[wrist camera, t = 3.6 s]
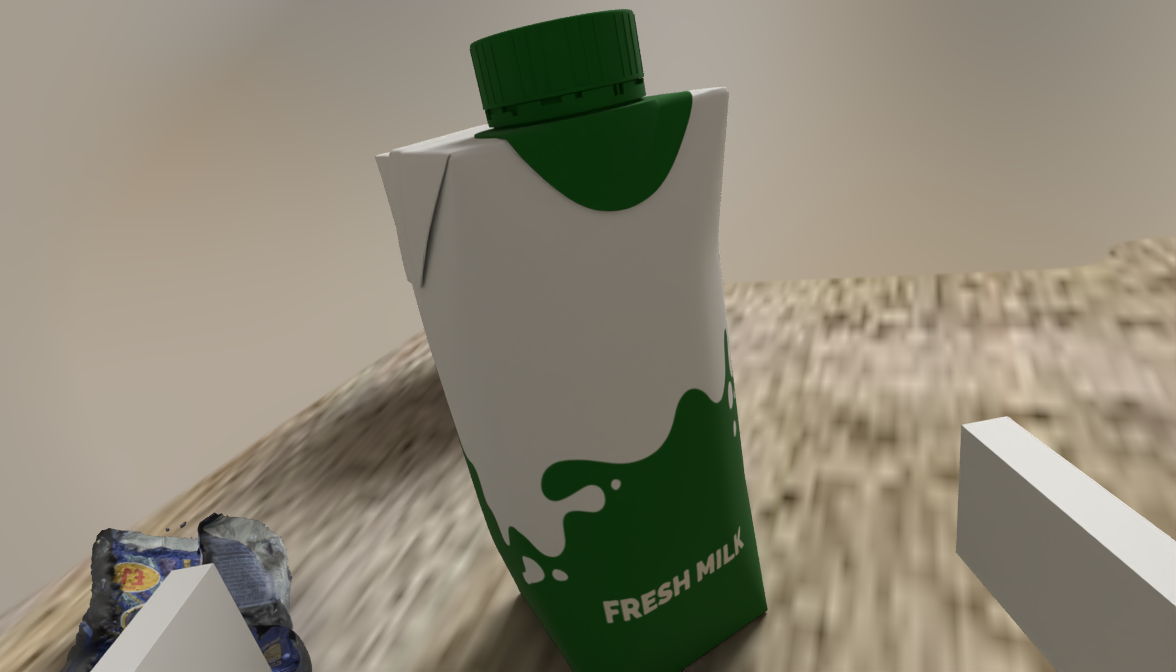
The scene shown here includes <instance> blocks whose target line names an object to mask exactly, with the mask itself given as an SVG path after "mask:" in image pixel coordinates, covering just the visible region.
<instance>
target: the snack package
mask: <svg viewBox="0 0 1176 672" xmlns="http://www.w3.org/2000/svg"><path fill="white" fill-rule="evenodd" d="M185 525H186V522H184V523H183V524H182V525H180V528H182V527H184V526H185ZM169 530H170V529H169V528H166V531H169ZM91 559H92V564H91V569H92V571H91V575H92V581H93V584H92V590H91V591H92V598H91V600H90V608H89V609H88V610H87V613H86V614H85V615H84V616H83V622H82V623H80V625H79V632H78V633H77V635H76V645H75V646H73V647H72V648H71V650H70V651H69V654H68V658H67V663H66V665H65V667H64V668H63V669H62V670H61V672H91V670H92V669H93V668H94V667H95V665H96V664H97V663H98V662H99V660H100V659H101V658H102V657H103V655H104V654H105V653H106V652H107V650H108V649H109V648H110V647H111V646H112V644H113V643H114V642H115V641H116V639H117V638H118V637H119V636H120V634H121V633H122V632H123V631H124V629H125V628H126V627H127V626H128V624H129V623H130V622H131V621H132V619H133V618H134V617H135V616H136V615H137V613H138V612H139V611H140V610H141V608H142V607H143V606H144V605H145V603H146V602H147V601H148V600H149V598H150V597H151V596H152V595H153V593H154V592H155V591H156V590H157V588H158V587H159V586H160V585H161V583H162V582H163V581H164V580H165V579H166V577H167V576H168V575H169V574H170V572H171V571H173V570H178V569H184V568H189V567H195V566H200V565H205V564H211V563H214V565H215V567H216V569H217V570H218V572H219V574H220V576H221V578H222V580H223V581H224V583H225V585H226V587H227V589H228V591H229V593H230V594H231V596H232V598H233V600H234V602H235V604H236V606H237V607H238V609H239V611H240V613H241V615H242V617H243V618H244V620H245V622H246V624H247V626H248V628H249V630H250V631H251V633H252V635H253V637H254V639H255V641H256V643H257V644H258V646H259V648H260V650H261V652H262V654H263V655H264V657H265V659H266V661H267V663H268V665H269V667H270V668H271V670H272V672H312V664H311V660H310V656H309V654H308V651H307V649H306V647H305V645H304V643H303V642H302V640H301V639H300V637H299V636H298V635H297V634H296V633H295V632H294V631H293V623H292V621H291V618H290V616H289V600H290V587H291V579H292V577H290V575H291V572H290V570H289V569H288V558H287V549H286V547H285V546H284V543H283V541H282V539H281V537H277V533H274V532H270V529H269V528H268V527H265V524H263V523H261V522H259V521H258V520H257V521H255V520H253V519H246V518H238V517H229V516H228V515H227V516H223V514H222V513H221V514H219V515H218V514H216V513H213V514H212V515H210V516H209V517H207V518H206V519H204V520H203V521H202V522H200V523H199V526H198V538H196V539H195V540H193V538H192V537H191V539H187V538H186V537H185V538H178V537H170V536H169V537H160V536H156V537H152V536H151V535H150V536H146V535H145V534H142V533H141V532H133V531H121V530H115V529H111V528H108V529H106V530H102V531H101V532H100V533H99V534H98V535H97V539H96V542H95V543H94V544H93V548H92V558H91Z"/></svg>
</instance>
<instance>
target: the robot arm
mask: <svg viewBox="0 0 1176 672" xmlns="http://www.w3.org/2000/svg"><path fill="white" fill-rule="evenodd" d="M956 553H957V554H958V555H959V556H960V557H961V559H962V560H963V561H964V562H965V563H966V565H967V566H968V567H969V568H970V569H971V570H972V572H973V573H974V574H975V575H976V576H977V578H978V579H979V580H980V581H981V582H982V583H983V585H984V586H985V587H986V588H987V589H988V590H989V592H990V593H991V594H992V595H993V596H994V598H995V599H996V600H997V601H998V602H999V603H1000V605H1001V606H1002V607H1003V608H1004V609H1005V611H1006V612H1007V613H1008V614H1009V615H1010V616H1011V618H1012V619H1013V620H1014V621H1015V622H1016V624H1017V625H1018V626H1019V627H1020V628H1021V629H1022V631H1023V632H1024V633H1025V634H1026V635H1027V637H1028V638H1029V639H1030V640H1031V641H1032V642H1033V644H1034V645H1035V646H1036V647H1037V648H1038V650H1039V651H1040V652H1041V653H1042V654H1043V655H1044V657H1045V658H1046V659H1047V660H1048V661H1049V663H1050V664H1051V665H1052V666H1053V667H1054V668H1055V670H1056V671H1057V672H1176V541H1175V540H1173V539H1172V538H1171V537H1169V536H1168V535H1167V534H1165V533H1164V532H1163V531H1161V530H1160V529H1158V528H1157V527H1156V526H1154V525H1153V524H1152V523H1150V522H1149V521H1148V520H1146V519H1145V518H1144V517H1142V516H1141V515H1140V514H1138V513H1137V512H1136V511H1134V510H1133V509H1131V508H1130V507H1129V506H1127V505H1126V504H1125V503H1123V502H1122V501H1121V500H1119V499H1118V498H1117V497H1115V496H1114V495H1113V494H1111V493H1110V492H1109V491H1107V490H1106V489H1104V488H1103V487H1102V486H1100V485H1099V484H1098V483H1096V482H1095V481H1094V480H1092V479H1091V478H1090V477H1088V476H1087V475H1086V474H1084V473H1083V472H1082V471H1080V470H1079V469H1077V468H1076V467H1075V466H1073V465H1072V464H1071V463H1069V462H1068V461H1067V460H1065V459H1064V458H1063V457H1061V456H1060V455H1059V454H1057V453H1056V452H1054V451H1053V450H1052V449H1050V448H1049V447H1048V446H1046V445H1045V444H1044V443H1042V442H1041V441H1040V440H1038V439H1037V438H1036V437H1034V436H1033V435H1032V434H1030V433H1029V432H1027V431H1026V430H1025V429H1023V428H1022V427H1021V426H1019V425H1018V424H1017V423H1015V422H1014V421H1013V420H1011V419H1010V418H1009V417H1002V418H996V419H991V420H986V421H980V422H975V423H969V424H964V425H961V448H960V471H959V494H958V517H957V540H956ZM91 672H272V670H271V668H270V667H269V665H268V663H267V661H266V659H265V657H264V655H263V654H262V652H261V650H260V648H259V646H258V644H257V643H256V641H255V639H254V637H253V635H252V633H251V631H250V630H249V628H248V626H247V624H246V622H245V620H244V618H243V617H242V615H241V613H240V611H239V609H238V607H237V606H236V604H235V602H234V600H233V598H232V596H231V594H230V593H229V591H228V589H227V587H226V585H225V583H224V581H223V580H222V578H221V576H220V574H219V572H218V570H217V569H216V567H215V565H214V563H211V564H205V565H200V566H195V567H189V568H184V569H178V570H173V571H171V572H170V574H169V575H168V576H167V577H166V579H165V580H164V581H163V582H162V583H161V585H160V586H159V587H158V588H157V590H156V591H155V592H154V593H153V595H152V596H151V597H150V598H149V600H148V601H147V602H146V603H145V605H144V606H143V607H142V608H141V610H140V611H139V612H138V613H137V615H136V616H135V617H134V618H133V619H132V621H131V622H130V623H129V624H128V626H127V627H126V628H125V629H124V631H123V632H122V633H121V634H120V636H119V637H118V638H117V639H116V641H115V642H114V643H113V644H112V646H111V647H110V648H109V649H108V650H107V652H106V653H105V654H104V655H103V657H102V658H101V659H100V660H99V662H98V663H97V664H96V665H95V667H94V668H93V669H92V670H91Z"/></svg>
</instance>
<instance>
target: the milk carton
mask: <svg viewBox="0 0 1176 672" xmlns="http://www.w3.org/2000/svg"><path fill="white" fill-rule="evenodd" d="M470 53H471V57H472V61H473V66H474V70H475V74H476V79H477V82H478V87H479V92H480V96H481V100H482V104H483V109H484V110H485V113H486V117H487V121H488V124H486V125H481V126H478V127H473V128H469V129H466V130H462V131H459V132H455V133H451V134H448V135H444V136H441V137H437V138H434V139H430V140H426V141H423V142H419V143H416V144H412V145H409V146H405V147H402V148H397V149H394V150H392V151H391V152H388V153H384V154H380V155H376V156H375V159H376V162H377V165H378V168H379V171H380V174H381V177H382V180H383V184H384V187H385V191H386V194H387V197H388V201H389V204H390V207H391V211H392V215H393V218H394V221H395V225H396V228H397V234H398V240H399V246H400V250H401V255H402V260H403V265H404V268H405V272H406V276H407V279H408V281H409V282H410V283H412V285H413V289H414V292H415V296H416V300H417V304H418V308H419V311H420V315H421V318H422V322H423V325H424V329H425V332H426V336H427V339H428V343H429V346H430V349H431V352H432V355H433V358H434V361H435V365H436V368H437V371H438V374H439V377H440V380H441V383H442V387H443V390H444V393H445V396H446V399H447V402H448V406H449V409H450V412H451V415H452V418H453V421H454V424H455V428H456V431H457V434H458V437H459V440H460V443H461V446H462V450H463V453H464V456H465V459H466V462H467V465H468V468H469V471H470V475H471V478H472V481H473V484H474V487H475V490H476V493H477V497H478V500H479V503H480V506H481V509H482V511H483V514H484V517H485V520H486V523H487V526H488V529H489V531H490V534H491V536H492V539H493V541H494V543H495V545H496V547H497V549H498V551H499V553H500V555H501V556H502V558H503V560H504V562H505V564H506V566H507V568H508V569H509V571H510V573H511V575H512V577H513V579H514V581H515V583H516V585H517V587H518V589H519V591H520V592H521V594H522V595H523V597H524V598H525V600H526V601H527V603H528V604H529V606H530V607H531V609H532V610H533V612H534V613H535V615H536V616H537V618H538V619H539V621H540V622H541V624H542V625H543V627H544V628H545V630H546V631H547V633H548V634H549V636H550V637H551V639H552V640H553V642H554V643H555V645H556V646H557V648H558V649H559V651H560V652H561V654H562V655H563V657H564V658H565V660H566V661H567V663H568V664H569V666H570V667H571V669H572V670H573V672H680V671H682V670H683V669H684V668H686V667H687V666H689V665H690V664H692V663H693V662H694V661H696V660H697V659H699V658H700V657H701V656H703V655H704V654H706V653H707V652H709V651H710V650H711V649H713V648H714V647H716V646H717V645H719V644H720V643H721V642H723V641H724V640H726V639H727V638H728V637H730V636H731V635H733V634H734V633H736V632H737V631H738V630H740V629H741V628H743V627H744V626H745V625H747V624H748V623H750V622H751V621H753V620H754V619H755V618H757V617H758V616H760V615H761V614H763V613H764V612H766V611H767V604H766V598H765V592H764V587H763V581H762V575H761V569H760V563H759V557H758V551H757V545H756V539H755V533H754V527H753V521H752V515H751V509H750V504H749V498H748V492H747V486H746V480H745V474H744V466H743V457H742V449H741V440H740V431H739V423H738V414H737V405H736V397H735V388H734V379H733V371H732V362H731V353H730V344H729V336H728V327H727V318H726V309H725V301H724V292H723V283H722V275H721V265H720V256H719V235H718V233H719V216H720V202H721V189H722V177H723V164H724V163H723V162H724V151H725V137H726V125H727V112H728V98H729V92H728V91H727V88H726V87H715V88H706V89H698V90H690V91H682V92H674V93H666V94H659V95H651V96H646V92H645V85H644V79H643V78H641V77H644V73H643V67H642V61H641V55H640V49H639V42H638V35H637V29H636V22H635V16H634V14H633V12H632V10H628V9H621V10H620V9H619V10H608V11H601V12H593V13H587V14H581V15H576V16H570V17H565V18H560V19H555V20H550V21H545V22H541V23H536V24H532V25H528V26H524V27H520V28H516V29H512V30H508V31H505V32H501V33H498V34H494V35H491V36H488V37H485V38H482V39H480V40H477V41H475V42H473V43H472V44H471V45H470ZM639 78H640V79H639Z"/></svg>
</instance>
